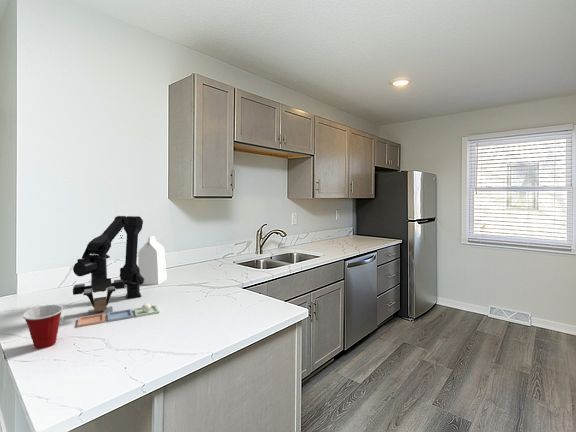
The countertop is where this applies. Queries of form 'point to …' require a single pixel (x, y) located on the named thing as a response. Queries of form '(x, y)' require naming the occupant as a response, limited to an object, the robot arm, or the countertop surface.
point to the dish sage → (140, 312)
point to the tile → (91, 312)
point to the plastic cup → (43, 324)
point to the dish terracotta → (91, 320)
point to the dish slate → (120, 315)
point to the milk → (152, 262)
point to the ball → (146, 307)
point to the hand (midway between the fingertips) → (100, 306)
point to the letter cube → (100, 304)
